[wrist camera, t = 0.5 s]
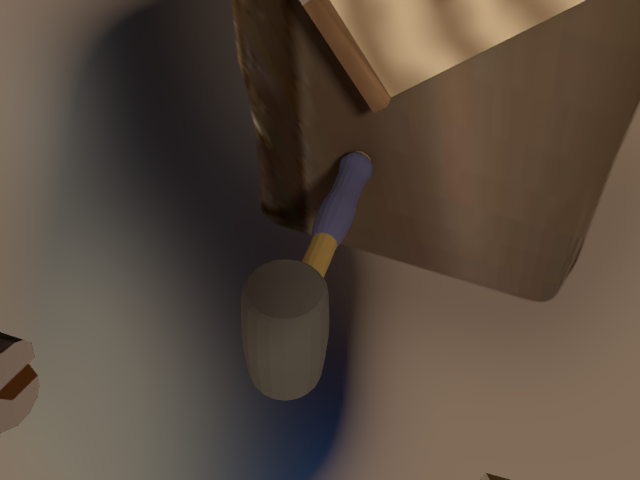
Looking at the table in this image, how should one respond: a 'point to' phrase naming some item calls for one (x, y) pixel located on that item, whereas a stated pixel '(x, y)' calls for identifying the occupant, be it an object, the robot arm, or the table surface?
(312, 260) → the rubber mallet
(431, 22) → the birch board
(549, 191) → the table surface
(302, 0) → the steel straightedge
